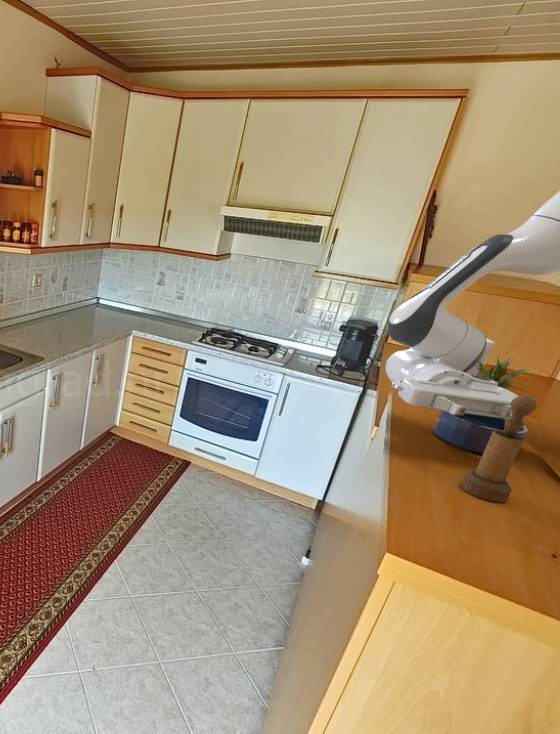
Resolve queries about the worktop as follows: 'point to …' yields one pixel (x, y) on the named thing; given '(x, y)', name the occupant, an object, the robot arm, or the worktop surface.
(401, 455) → the worktop surface
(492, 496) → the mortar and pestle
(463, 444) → the bowl
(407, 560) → the worktop surface
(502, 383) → the house plant
